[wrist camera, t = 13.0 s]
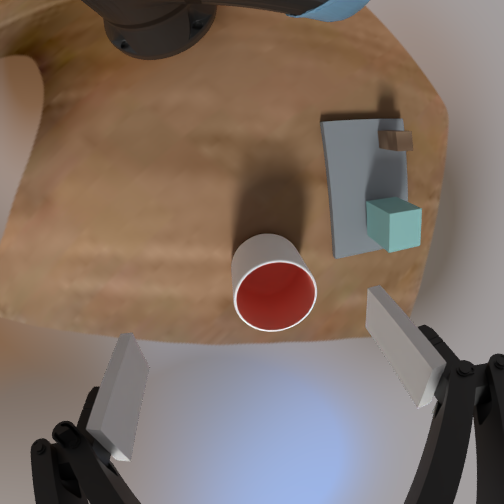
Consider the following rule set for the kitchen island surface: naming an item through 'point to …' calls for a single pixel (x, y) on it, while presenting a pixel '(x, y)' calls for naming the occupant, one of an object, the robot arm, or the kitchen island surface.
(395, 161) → the board
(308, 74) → the kitchen island surface
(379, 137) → the walnut post
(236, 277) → the cup
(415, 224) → the teal block
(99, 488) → the robot arm
